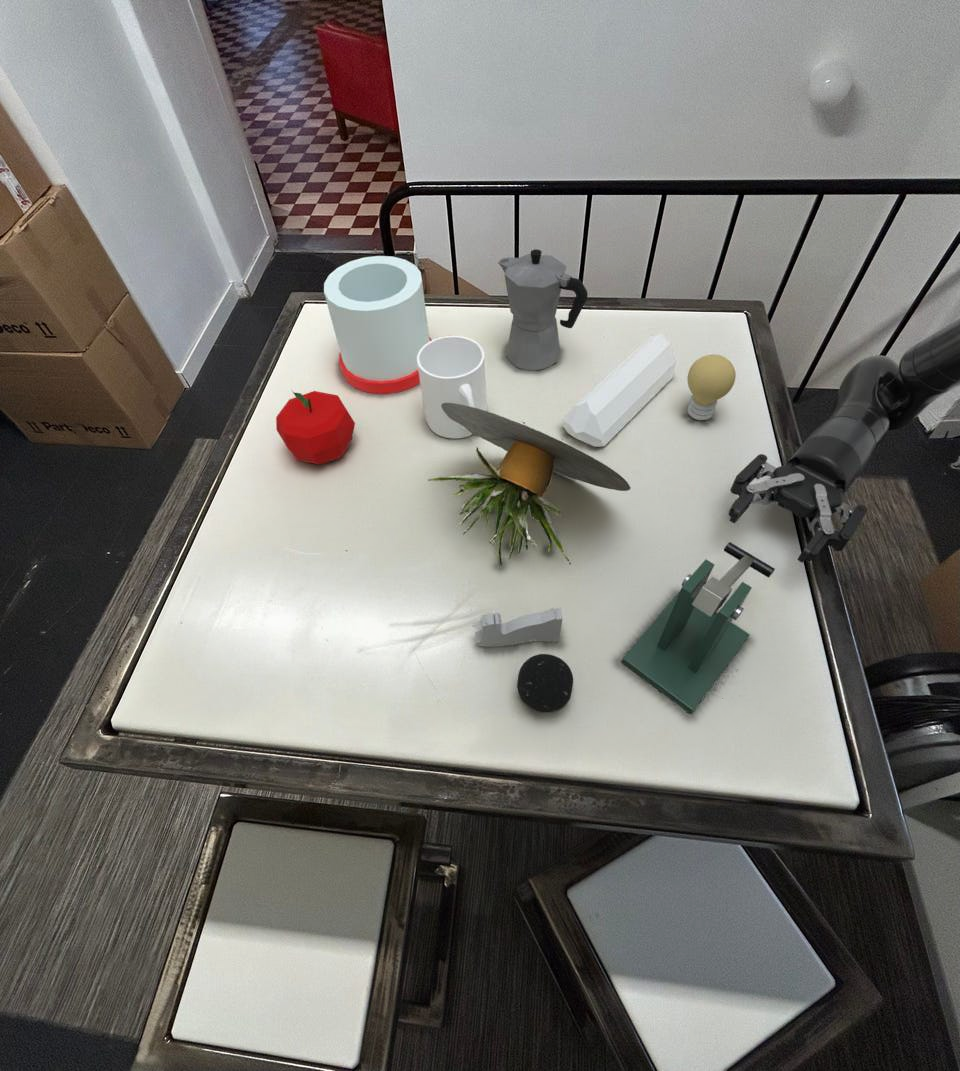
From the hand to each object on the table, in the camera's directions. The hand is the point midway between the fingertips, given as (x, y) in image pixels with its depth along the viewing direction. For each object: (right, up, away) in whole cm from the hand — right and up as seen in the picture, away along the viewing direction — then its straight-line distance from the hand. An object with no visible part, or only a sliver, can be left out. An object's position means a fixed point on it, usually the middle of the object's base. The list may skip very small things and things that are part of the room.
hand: (767, 537), depth 71 cm
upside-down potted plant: (-28, +3, +12) cm, 30 cm away
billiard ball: (-26, -17, -3) cm, 32 cm away
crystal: (-12, +21, +24) cm, 34 cm away
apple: (-57, +13, +21) cm, 62 cm away
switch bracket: (-10, -13, -1) cm, 16 cm away
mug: (-36, +17, +23) cm, 46 cm away
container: (-49, +29, +33) cm, 66 cm away
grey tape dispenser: (-29, -12, +1) cm, 31 cm away
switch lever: (-7, -5, -6) cm, 11 cm away
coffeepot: (-23, +30, +32) cm, 50 cm away
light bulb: (0, +18, +22) cm, 29 cm away
